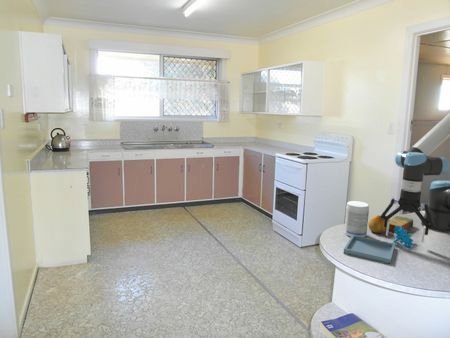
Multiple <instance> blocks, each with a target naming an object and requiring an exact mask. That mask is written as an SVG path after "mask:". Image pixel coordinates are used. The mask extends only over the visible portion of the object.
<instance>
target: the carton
mask: <svg viewBox="0 0 450 338" xmlns="http://www.w3.org/2000/svg"><path fill="white" fill-rule="evenodd" d="M389 220H390V224H389V232H388V233H393V234H395V233H394V231H396V230H395V229H394V228H395V227H396V226H400V227H401V226H402V227H403V228H404V229H403V231H404V230H407V231H408V229H409V230H410V229H412V228H413V227H414V219H413V218H408V217H403V216H399V215H396V216H395V215H394V217H391V218H390V219H389ZM384 232H386V230H385V231H384Z"/></svg>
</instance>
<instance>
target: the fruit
mask: <svg viewBox="0 0 450 338" xmlns="http://www.w3.org/2000/svg"><path fill="white" fill-rule="evenodd" d="M384 222H385V220H384V219H383V218H381V215H375V216H372V217H371V218H370V219H368V225H367V227H368V228H369V231H371V232H373V233H376V234H382V233H384V232H386V231H385V230H386V229H387V227H384Z"/></svg>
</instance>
